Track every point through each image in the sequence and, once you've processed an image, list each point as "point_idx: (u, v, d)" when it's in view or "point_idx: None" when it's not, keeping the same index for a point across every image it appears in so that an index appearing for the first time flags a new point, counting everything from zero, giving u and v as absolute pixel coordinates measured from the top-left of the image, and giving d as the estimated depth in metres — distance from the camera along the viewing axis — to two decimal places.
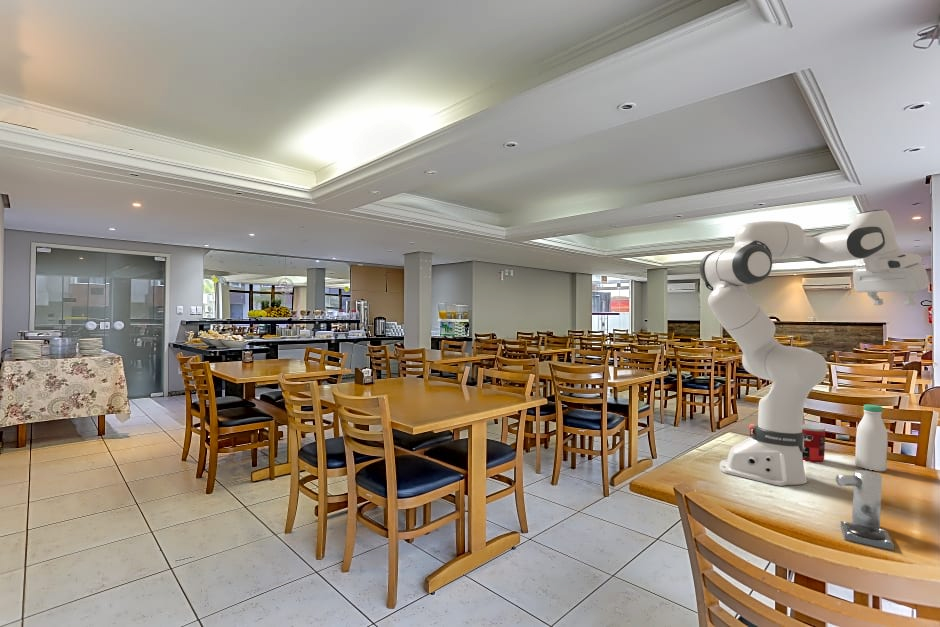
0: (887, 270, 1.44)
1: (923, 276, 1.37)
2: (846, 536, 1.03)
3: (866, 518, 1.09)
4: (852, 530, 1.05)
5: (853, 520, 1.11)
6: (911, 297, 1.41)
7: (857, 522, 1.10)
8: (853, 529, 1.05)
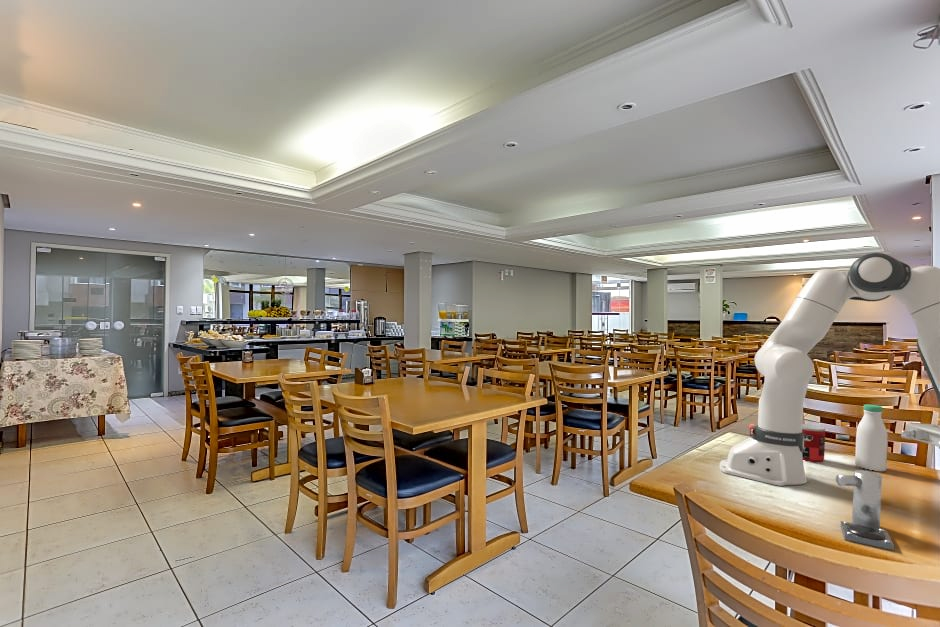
0: None
1: None
2: (846, 536, 1.03)
3: (866, 518, 1.09)
4: (852, 530, 1.05)
5: (853, 520, 1.11)
6: None
7: (857, 522, 1.10)
8: (853, 529, 1.05)
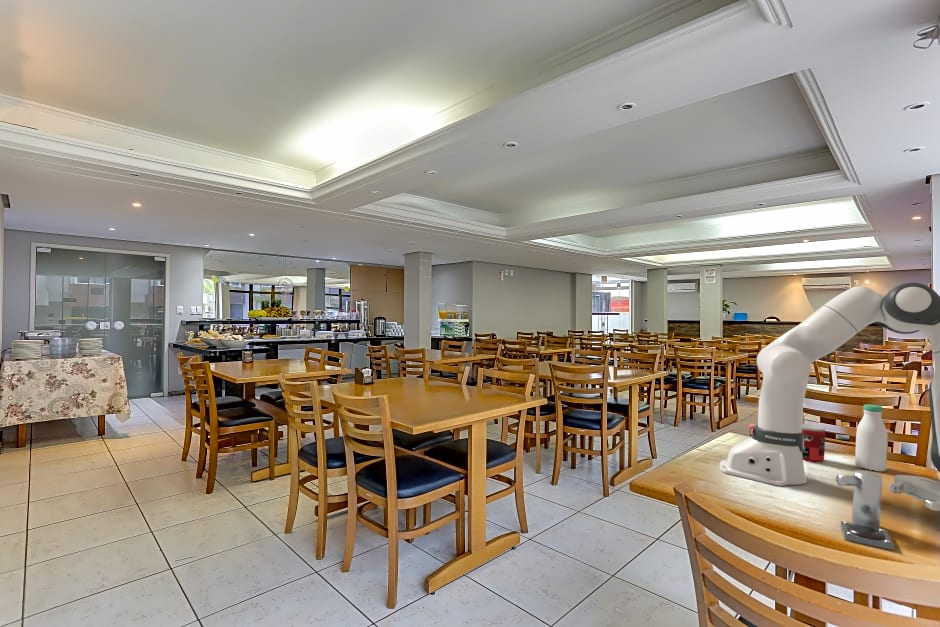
0: None
1: None
2: (846, 536, 1.03)
3: (866, 518, 1.09)
4: (852, 530, 1.05)
5: (853, 520, 1.11)
6: None
7: (857, 522, 1.10)
8: (853, 529, 1.05)
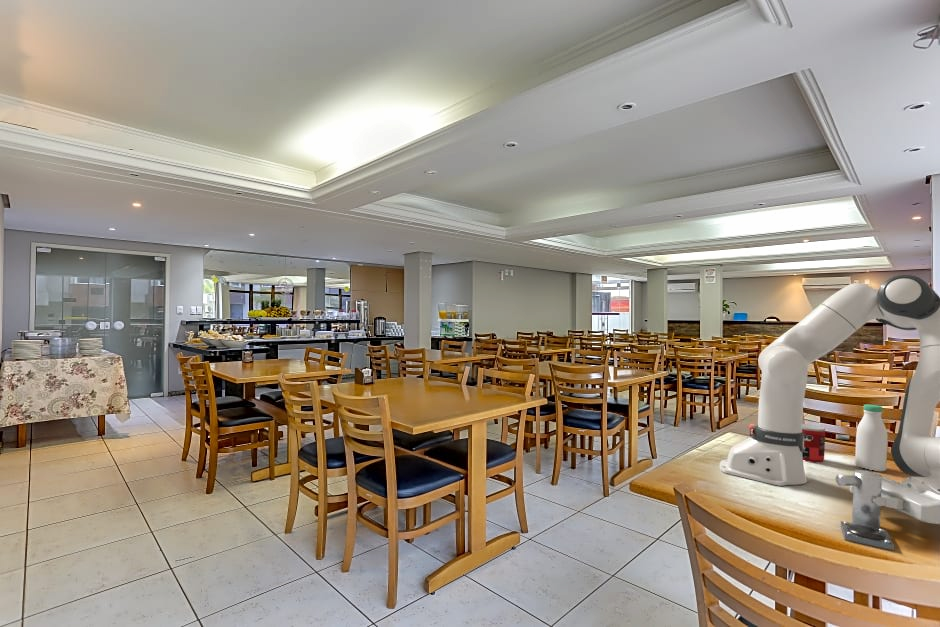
0: (921, 492, 1.08)
1: None
2: (846, 536, 1.03)
3: (866, 518, 1.09)
4: (852, 530, 1.05)
5: (853, 520, 1.11)
6: (889, 501, 1.06)
7: (857, 522, 1.10)
8: (853, 529, 1.05)
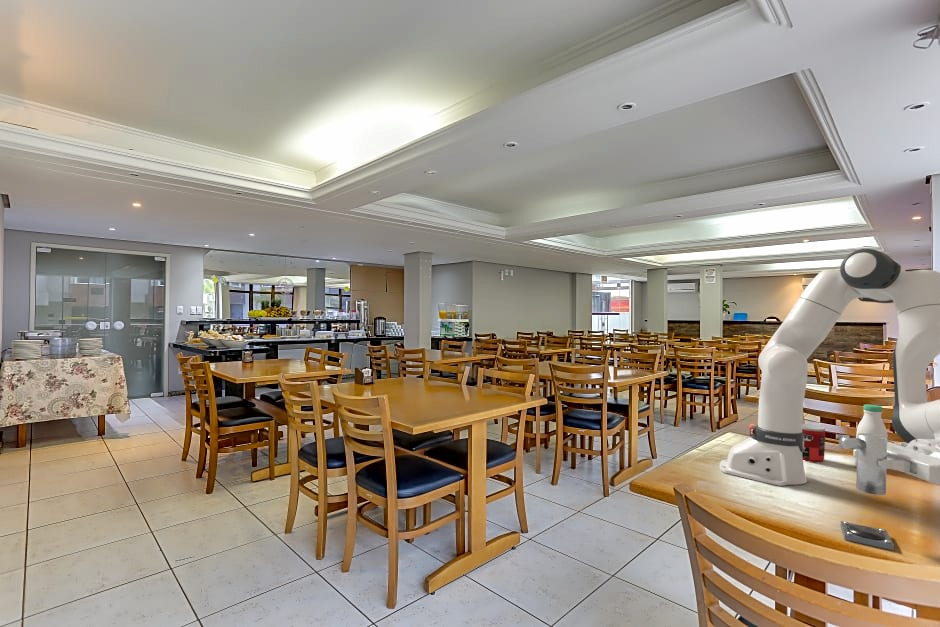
0: (929, 454, 1.03)
1: None
2: (846, 536, 1.03)
3: (871, 482, 1.03)
4: (852, 530, 1.05)
5: (857, 485, 1.06)
6: (896, 463, 1.01)
7: (862, 487, 1.05)
8: (853, 529, 1.05)
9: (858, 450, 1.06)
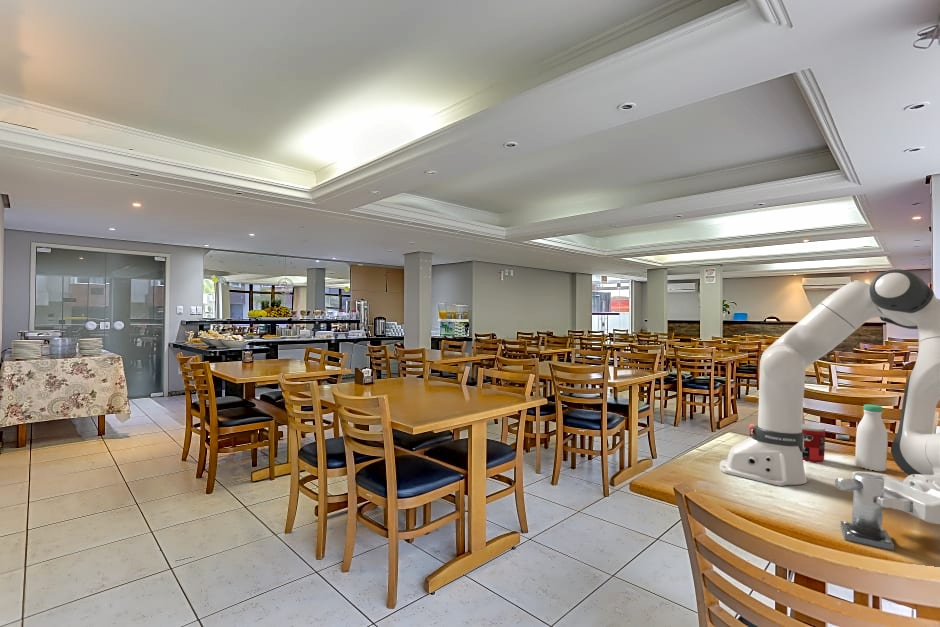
0: (925, 491, 1.02)
1: None
2: (846, 536, 1.03)
3: (867, 524, 1.02)
4: (852, 530, 1.05)
5: (853, 525, 1.05)
6: (895, 502, 0.99)
7: (857, 528, 1.04)
8: None
9: (854, 490, 1.05)
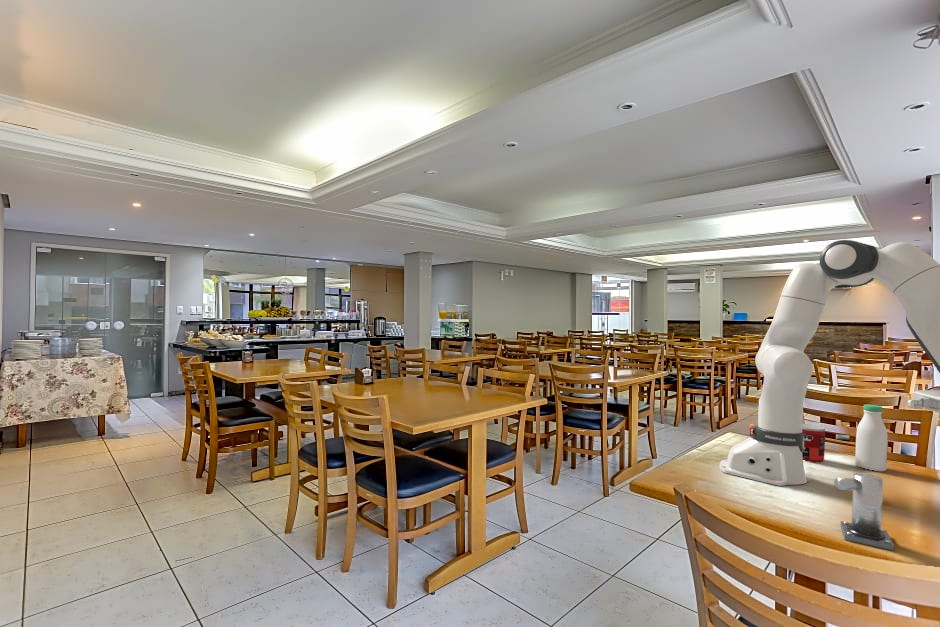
0: None
1: None
2: (846, 536, 1.03)
3: (866, 524, 1.03)
4: (852, 530, 1.05)
5: (853, 526, 1.05)
6: None
7: (857, 528, 1.04)
8: None
9: (854, 490, 1.05)
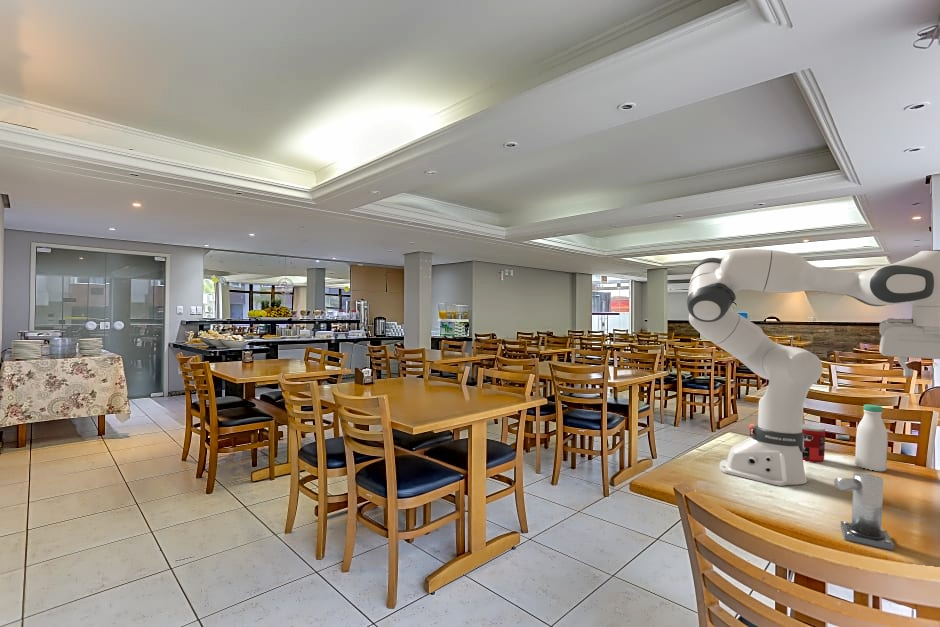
0: None
1: None
2: (846, 536, 1.03)
3: (866, 524, 1.03)
4: (852, 530, 1.05)
5: (853, 526, 1.05)
6: None
7: (857, 528, 1.04)
8: None
9: (854, 490, 1.05)
